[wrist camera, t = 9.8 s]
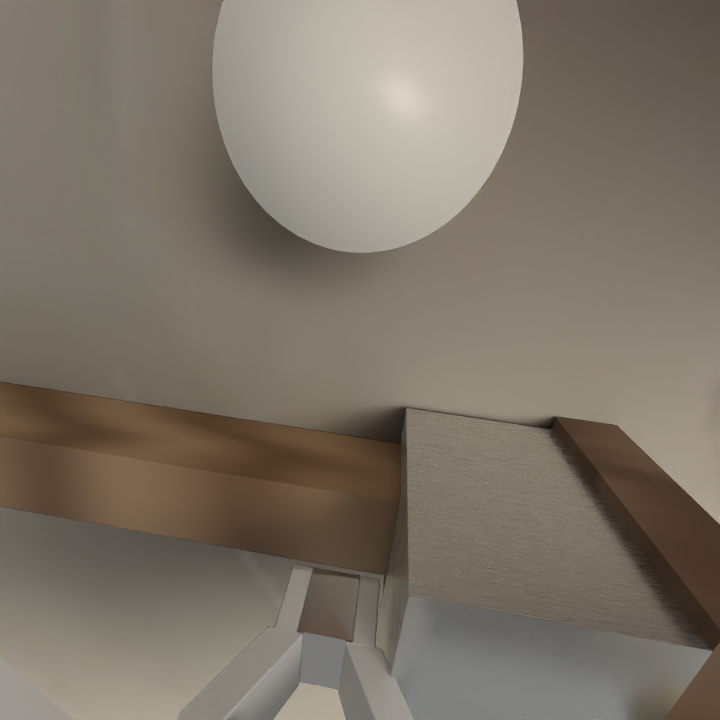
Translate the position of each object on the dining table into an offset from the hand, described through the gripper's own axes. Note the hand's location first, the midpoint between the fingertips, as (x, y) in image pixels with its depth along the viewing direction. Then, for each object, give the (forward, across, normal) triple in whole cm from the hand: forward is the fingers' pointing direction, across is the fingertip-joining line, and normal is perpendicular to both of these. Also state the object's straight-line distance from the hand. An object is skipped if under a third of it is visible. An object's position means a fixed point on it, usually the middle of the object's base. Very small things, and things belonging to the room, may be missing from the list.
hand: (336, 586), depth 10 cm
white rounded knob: (+5, +1, -11) cm, 12 cm away
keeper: (+5, -4, 0) cm, 6 cm away
